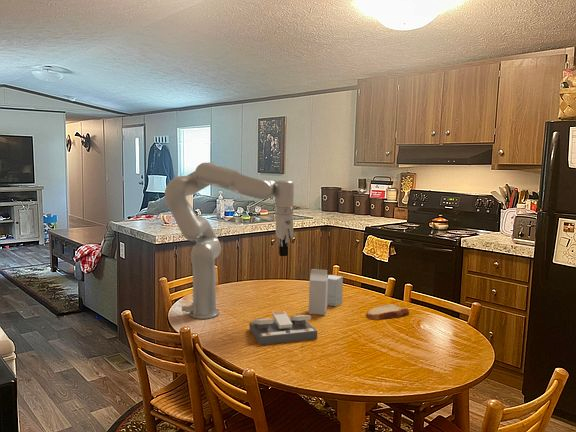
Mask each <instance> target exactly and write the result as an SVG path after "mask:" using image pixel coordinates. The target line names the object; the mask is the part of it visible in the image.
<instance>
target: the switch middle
mask: <svg viewBox="0 0 576 432" xmlns="http://www.w3.org/2000/svg"><path fill="white" fill-rule="evenodd" d="M271 316H272V319H273V320H275V322H276V323H277V325H278V327H279V329H282V328H292V322H291V321H290V316H288V314H287V312H286V311H285V310H279V311H278V310H277V311H276V310H275V311H272V312H271Z"/></svg>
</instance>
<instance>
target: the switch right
mask: <svg viewBox="0 0 576 432" xmlns="http://www.w3.org/2000/svg"><path fill="white" fill-rule="evenodd" d="M289 319H290V320H297V321H301V320H306V321H310V320H311V321H312V314H309V315H307V314H294V315H289Z"/></svg>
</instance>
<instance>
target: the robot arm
mask: <svg viewBox="0 0 576 432" xmlns="http://www.w3.org/2000/svg"><path fill="white" fill-rule="evenodd" d="M209 186H212V187H216V188H221V189H224V190H228V191H230V192H233V193H236V194H240V195H244V196H247V197H250V198H253V199H254V198H255V199H259V200H267V199H269V198H274V215H275V216H276V218H275V236H276V237H277V238H278V255H279V256H280V257H288V254H289V253H288V252H289V248H288V247H289V243H290V240H291V241H292V240H293V239H294V219H293V215H294V196H295V195H294V193H295V191H294V190H295V186H294V182H293V181H291V180H275V179H274V180H273V179H259V178H255V177H251V176H248V175H245V174H242V173H241V172H239V171H238V170H237V169H233V168H229V167H226V166H225V167H224V166H222V165H221V166H220V165H218V164H217V163H214V162H202V163H200V164H198V165H197V167H196V168H195V170H194V171H192V172H191V173H189V174H186V175H180V176H179V175H178V176H176V177H173V178H172V179H171V180H170V181H169V182H168V183H167V185H166V187H165V190H164V201H165V203H166V206H167V208H168V209H169V211H170V213H171V214H172V216H173V218H174V221H175V222H176V224H177V227H178V228H179V230H180V232H181V234H182V235H183V238H185V239H186V240H187V241H191V242H193V241H195V242H196V244H195V245H193V247H192V249H191V252H190V253H191V254H190V259H191V260H190V261H191V266H192V268H191V269H192V302H191V304H190V305H187V306H186V305H185V306H181V311H182V312H185V313H187V312H188V313H189V317H191V318H194V319H197V320H199V319H200V320H203V319H204V320H205V319H206V320H207V319H212V318H216V317H219V315H220V310H219V309H218V308H216V307H217V303H216V302H217V294H216V293H217V292H216V289H217V288H216V287H217V286H216V285H217V282H216V281H217V280H216V279H217V277H216V264H215V259H217V258H218V257H219V256H220V254H221V252H222V245H221V242H220V240H219V238H218V237H217V234H216V232H215V230H214V229H213V227H212V225H211V223H210V221H208V219H207V218H205V216H202V215H201V216H200V215H196V212H195V211H194V209H193V207H192V206H191V204H190V203H189V201H188V200H187V198H186V197H187V196H192V195H194V194H196V193H198V192H201V190H204V189H206V188H207V187H209Z"/></svg>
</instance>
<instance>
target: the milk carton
mask: <svg viewBox="0 0 576 432" xmlns="http://www.w3.org/2000/svg"><path fill="white" fill-rule="evenodd" d="M328 275H329V274H328V270H327V269H315V268H313V269H312V268H311V269H310V276H309V289H308V290H309V291H308V292H309V295H308V298H309V299H308V314H309V315H321V316H322V315H323V316H326V313H327V312H328V305H327V296H328Z"/></svg>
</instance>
